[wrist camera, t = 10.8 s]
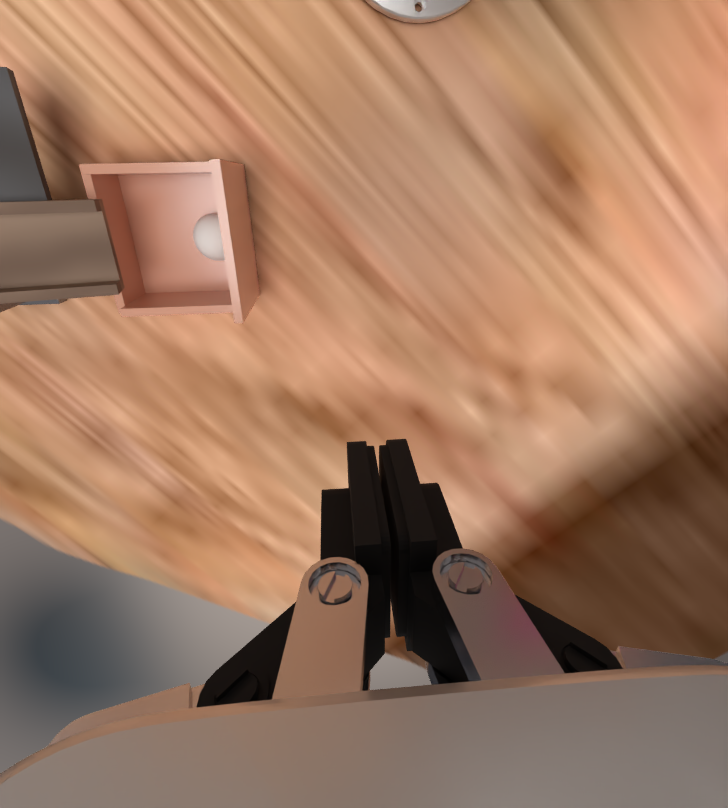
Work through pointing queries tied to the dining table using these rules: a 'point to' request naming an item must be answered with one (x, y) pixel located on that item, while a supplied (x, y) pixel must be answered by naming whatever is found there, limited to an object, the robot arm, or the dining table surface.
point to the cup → (177, 236)
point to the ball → (209, 237)
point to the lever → (46, 223)
